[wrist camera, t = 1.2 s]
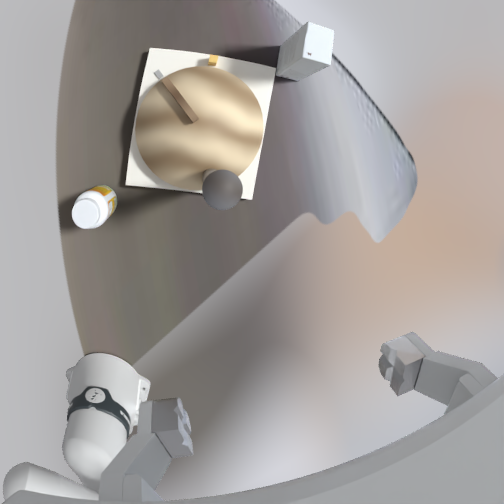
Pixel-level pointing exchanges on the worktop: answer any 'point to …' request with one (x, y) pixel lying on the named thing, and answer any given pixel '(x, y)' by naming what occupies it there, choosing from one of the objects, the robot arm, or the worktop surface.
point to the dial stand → (174, 60)
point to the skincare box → (305, 52)
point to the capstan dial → (201, 132)
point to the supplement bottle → (94, 207)
